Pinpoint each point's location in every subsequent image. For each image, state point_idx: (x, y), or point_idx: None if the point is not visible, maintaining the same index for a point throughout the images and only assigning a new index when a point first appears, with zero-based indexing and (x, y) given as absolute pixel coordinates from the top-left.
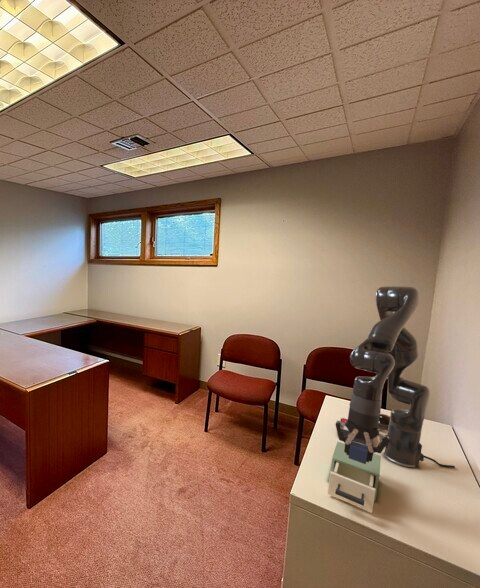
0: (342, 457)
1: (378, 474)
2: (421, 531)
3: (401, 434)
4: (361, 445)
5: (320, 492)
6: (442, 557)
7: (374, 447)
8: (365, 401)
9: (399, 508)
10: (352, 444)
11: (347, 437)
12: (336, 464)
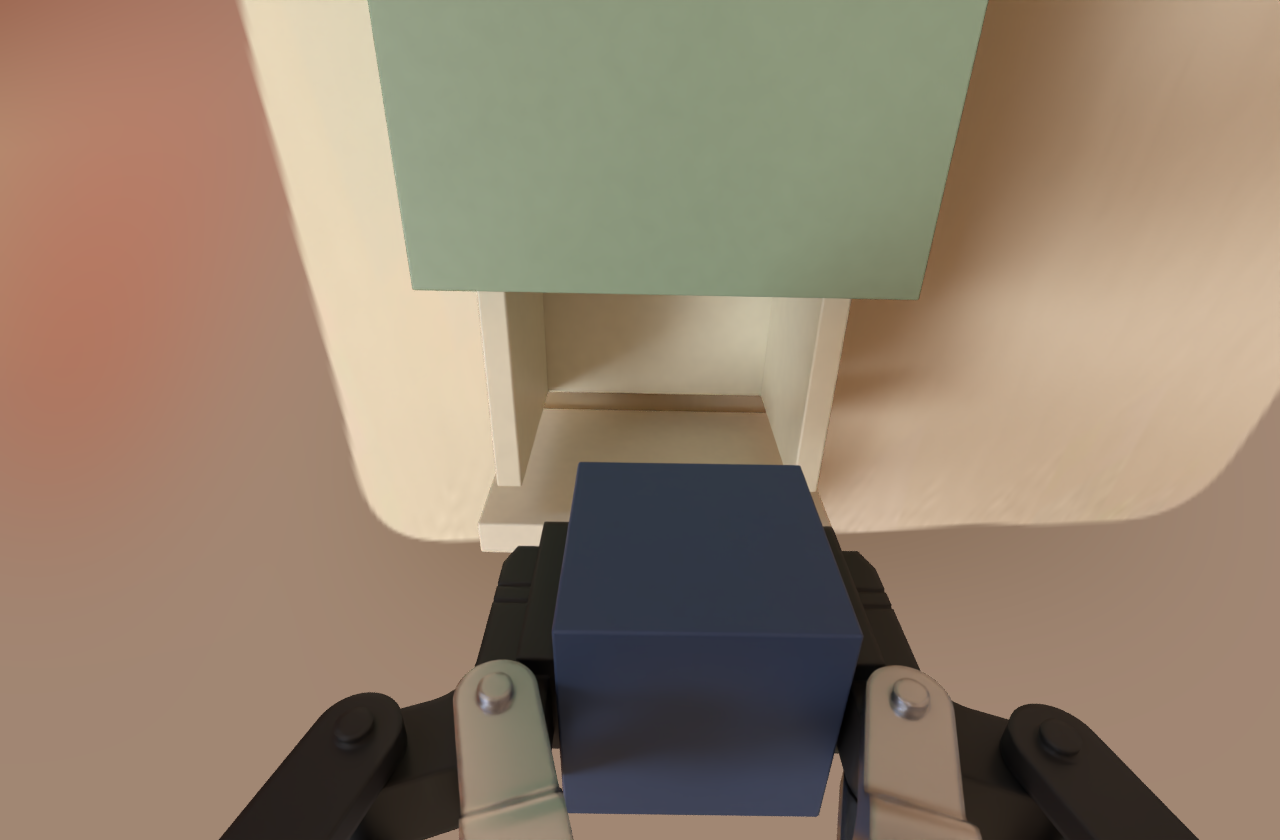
0: (510, 176)
1: (909, 299)
2: (1054, 364)
3: None
4: (737, 688)
5: (478, 409)
6: (1076, 519)
7: (967, 801)
8: None
9: (994, 170)
10: (590, 752)
11: (465, 781)
12: (488, 340)
